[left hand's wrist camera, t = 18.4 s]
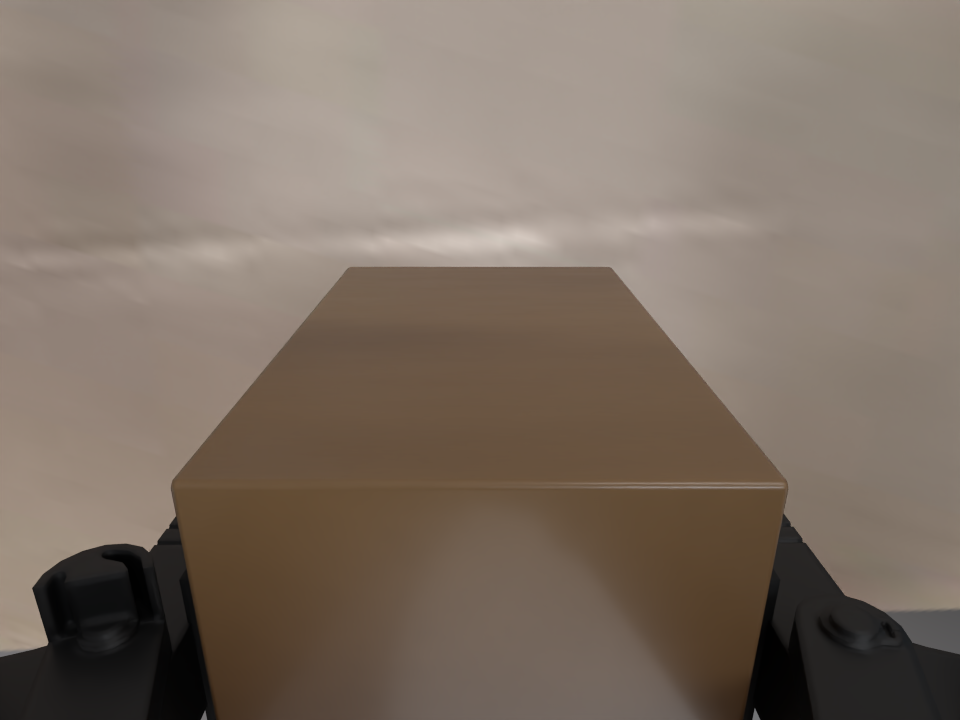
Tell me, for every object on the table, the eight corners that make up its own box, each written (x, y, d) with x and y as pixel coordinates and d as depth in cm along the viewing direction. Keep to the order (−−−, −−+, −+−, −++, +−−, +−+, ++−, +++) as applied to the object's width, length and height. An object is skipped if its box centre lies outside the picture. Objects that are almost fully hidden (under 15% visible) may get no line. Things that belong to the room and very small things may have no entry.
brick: (592, 528, 17) (702, 939, 9) (367, 528, 17) (255, 939, 9) (612, 266, 15) (792, 483, 6) (347, 266, 15) (166, 482, 6)
